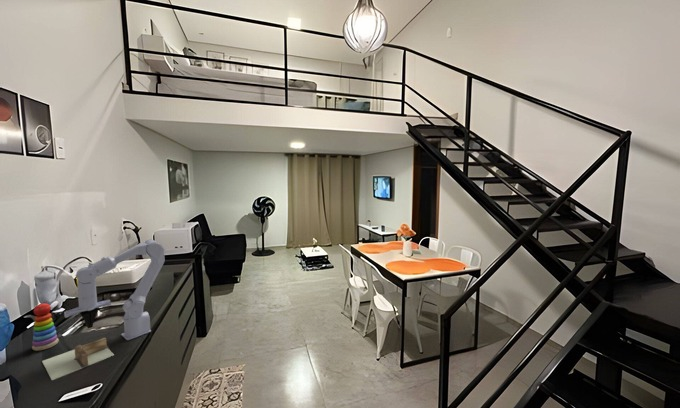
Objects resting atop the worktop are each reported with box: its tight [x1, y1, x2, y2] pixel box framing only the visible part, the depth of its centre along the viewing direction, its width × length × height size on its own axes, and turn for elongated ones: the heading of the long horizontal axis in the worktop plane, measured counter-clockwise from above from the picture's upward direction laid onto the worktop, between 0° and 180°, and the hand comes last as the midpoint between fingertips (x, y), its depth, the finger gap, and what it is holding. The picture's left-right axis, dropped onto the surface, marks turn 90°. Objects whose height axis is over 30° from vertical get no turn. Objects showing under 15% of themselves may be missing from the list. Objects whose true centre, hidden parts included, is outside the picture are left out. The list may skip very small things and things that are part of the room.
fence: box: [74, 337, 108, 359], centre depth 115 cm, size 10×2×5 cm, turn 144°
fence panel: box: [77, 348, 88, 365], centre depth 109 cm, size 8×1×4 cm, turn 57°
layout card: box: [41, 345, 115, 381], centre depth 112 cm, size 18×18×1 cm
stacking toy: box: [31, 302, 60, 352], centre depth 120 cm, size 8×8×19 cm
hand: (89, 327), depth 119 cm, fingers closed
